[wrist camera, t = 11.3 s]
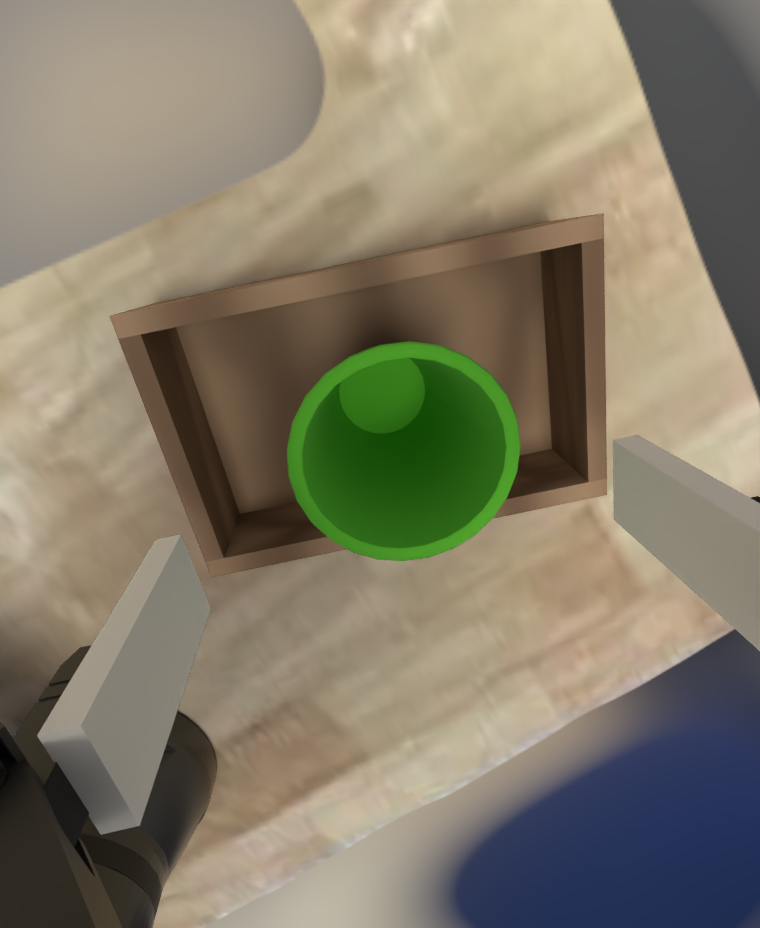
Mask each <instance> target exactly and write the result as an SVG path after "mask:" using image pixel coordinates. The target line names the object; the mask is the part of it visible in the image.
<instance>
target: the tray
mask: <svg viewBox="0 0 760 928" xmlns="http://www.w3.org/2000/svg"><path fill="white" fill-rule="evenodd" d="M110 319H111V321H112V324H113V326H114V329H115V332H116V334H117V337H118V339H119V342H120V344H121V347H122V350H123V352H124V355H125V357H126V360H127V362H128V365H129V367H130V370H131V373H132V375H133V378H134V380H135V383H136V385H137V388H138V390H139V393H140V396H141V398H142V401H143V403H144V406H145V408H146V411H147V413H148V416H149V419H150V421H151V424H152V426H153V429H154V431H155V434H156V437H157V439H158V442H159V444H160V447H161V449H162V452H163V454H164V457H165V460H166V462H167V465H168V467H169V470H170V472H171V475H172V477H173V480H174V483H175V485H176V488H177V490H178V493H179V495H180V498H181V501H182V503H183V506H184V508H185V511H186V513H187V516H188V518H189V521H190V524H191V526H192V529H193V531H194V534H195V536H196V539H197V541H198V544H199V547H200V549H201V552H202V554H203V557H204V559H205V562H206V564H207V567H208V570H209V572H210V575H211V577H215V576H220V575H225V574H230V573H235V572H239V571H244V570H249V569H254V568H258V567H263V566H268V565H273V564H278V563H282V562H287V561H292V560H297V559H302V558H306V557H311V556H316V555H321V554H326V553H330V552H335V551H340V550H345V549H346V548H345V547H343V546H341V545H339V544H337V543H336V542H334V541H332V540H330V539H329V538H328V537H327V536H326V535H325V534H324V533H322V532H321V531H320V530H319V529H318V528H317V527H316V526H315V525H314V524H313V523H312V522H311V521H310V520H309V518H308V517H307V515H306V514H305V512H304V511H303V509H302V508H301V506H300V505H299V503H298V502H297V500H296V497H295V494H294V491H293V488H292V485H291V482H290V479H289V476H288V462H287V446H288V441H289V436H290V431H291V426H292V422H293V420H294V418H295V416H296V414H297V412H298V410H299V408H300V406H301V404H302V402H303V400H304V398H305V396H306V395H307V394H308V392H309V391H310V390H311V389H312V388H313V387H314V386H315V384H316V383H317V382H318V381H319V380H320V379H321V377H322V376H323V375H324V374H325V373H327V372H328V371H329V370H331V369H332V368H334V367H335V366H337V365H338V364H339V363H341V362H342V361H344V360H345V359H347V358H348V357H349V356H352V355H354V354H357V353H358V352H360V351H361V350H364V349H367V348H369V347H373V346H378V345H383V344H391V343H399V342H408V341H412V342H420V343H428V344H436V345H441V346H444V347H446V348H449V349H451V350H454V351H456V352H459V353H461V354H464V355H466V356H468V357H470V358H471V359H472V360H474V361H475V362H476V363H478V364H479V365H480V366H482V367H483V368H484V369H486V370H487V371H488V372H490V373H491V374H492V376H493V377H494V378H495V380H496V381H497V382H498V383H499V385H500V386H501V387H502V389H503V390H504V391H505V392H506V394H507V395H508V398H509V400H510V403H511V405H512V407H513V410H514V412H515V415H516V417H517V420H518V428H519V436H520V444H521V447H520V454H519V462H518V470H517V473H516V476H515V479H514V481H513V484H512V486H511V489H510V491H509V494H508V496H507V498H506V500H505V501H504V503H503V504H502V505H501V507H500V508H499V510H498V511H497V513H496V514H495V516H494V517H493V518H498V517H503V516H508V515H512V514H517V513H522V512H527V511H531V510H536V509H541V508H546V507H551V506H555V505H560V504H565V503H570V502H575V501H579V500H584V499H589V498H594V497H599V496H603V495H607V458H606V376H605V295H604V214H597V215H590V216H583V217H576V218H569V219H562V220H555V221H549V222H544V223H539V224H534V225H530V226H525V227H520V228H515V229H510V230H506V231H501V232H496V233H491V234H486V235H481V236H477V237H472V238H467V239H462V240H457V241H453V242H448V243H443V244H438V245H433V246H428V247H424V248H419V249H414V250H409V251H404V252H400V253H395V254H390V255H385V256H380V257H375V258H371V259H366V260H361V261H356V262H351V263H347V264H342V265H337V266H332V267H327V268H322V269H318V270H313V271H308V272H303V273H298V274H294V275H289V276H284V277H279V278H274V279H269V280H265V281H260V282H255V283H250V284H245V285H241V286H236V287H231V288H226V289H221V290H216V291H212V292H207V293H202V294H197V295H192V296H188V297H183V298H178V299H173V300H168V301H163V302H159V303H154V304H150V305H147V306H143V307H140V308H136V309H133V310H129V311H126V312H122V313H119V314H115V315H112V316H110ZM493 518H492V519H493Z"/></svg>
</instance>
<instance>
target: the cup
mask: <svg viewBox="0 0 760 928" xmlns="http://www.w3.org/2000/svg"><path fill="white" fill-rule="evenodd" d="M520 447H521V444H520V436H519V428H518V420H517V417H516V415H515V412H514V410H513V407H512V405H511V403H510V400H509V398H508V395H507V394H506V392H505V391H504V390H503V389H502V387H501V386H500V385H499V383H498V382H497V381H496V380H495V378H494V377H493V376H492V374H491V373H490V372H488V371H487V370H486V369H484V368H483V367H482V366H480V365H479V364H478V363H476V362H475V361H474V360H472V359H471V358H470V357H468V356H466V355H464V354H461V353H459V352H456V351H454V350H451V349H449V348H446V347H444V346H441V345H436V344H428V343H420V342H412V341H408V342H399V343H391V344H383V345H378V346H373V347H369V348H367V349H364V350H361V351H360V352H358V353H357V354H354V355H352V356H349V357H348V358H347V359H345V360H344V361H342V362H341V363H339V364H338V365H337V366H335V367H334V368H332V369H331V370H329V371H328V372H327V373H325V374H324V375H323V376H322V377H321V379H320V380H319V381H318V382H317V383H316V384H315V386H314V387H313V388H312V389H311V390H310V391H309V392H308V394H307V395H306V396H305V398H304V400H303V402H302V404H301V406H300V408H299V410H298V412H297V414H296V416H295V418H294V420H293V422H292V426H291V431H290V436H289V441H288V446H287V462H288V476H289V479H290V482H291V485H292V488H293V491H294V494H295V497H296V500H297V502H298V503H299V505H300V506H301V508H302V509H303V511H304V512H305V514H306V515H307V517H308V518H309V520H310V521H311V522H312V523H313V524H314V525H315V526H316V527H317V528H318V529H319V530H320V531H321V532H322V533H324V534H325V535H326V536H327V537H328V538H329V539H330V540H332V541H334V542H336V543H337V544H339V545H341V546H343V547H345V548H346V549H348V550H350V551H352V552H354V553H358V554H361V555H364V556H368V557H371V558H375V559H381V560H396V561H406V560H413V559H420V558H428V557H431V556H433V555H436V554H439V553H442V552H445V551H448V550H450V549H453V548H454V547H456V546H458V545H459V544H461V543H463V542H464V541H466V540H468V539H469V538H471V537H473V536H474V535H475V534H476V533H477V532H478V531H480V530H481V529H482V528H483V527H484V526H485V525H486V524H487V523H488V522H489V521H490V520H491V519H492V518H493V517H494V516H495V514H496V513H497V511H498V510H499V508H500V507H501V505H502V504H503V503H504V501H505V500H506V498H507V496H508V494H509V491H510V489H511V486H512V484H513V481H514V479H515V476H516V473H517V470H518V462H519V454H520Z"/></svg>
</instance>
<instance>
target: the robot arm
mask: <svg viewBox="0 0 760 928" xmlns="http://www.w3.org/2000/svg"><path fill="white" fill-rule="evenodd" d="M613 493H614V520H615V521H616V522H617V523H618V524H619V525H620V526H622V527H623V528H624V529H625V530H626V531H627V532H628V533H629V534H630V535H632V536H633V537H634V538H635V539H636V540H637V541H638V542H639V543H640V544H642V545H643V546H644V547H645V548H646V549H647V550H648V551H649V552H650V553H652V554H653V555H654V556H655V557H656V558H657V559H658V560H659V561H660V562H662V563H663V564H664V565H665V566H666V567H667V568H668V569H669V570H670V571H672V572H673V573H674V574H675V575H676V576H677V577H678V578H679V579H680V580H682V581H683V582H684V583H685V584H686V585H687V586H688V587H689V588H690V589H692V590H693V591H694V592H695V593H696V594H697V595H698V596H699V597H700V598H702V599H703V600H704V601H705V602H706V603H707V604H708V605H709V606H710V607H712V608H713V609H714V610H715V611H716V612H717V613H718V614H719V615H720V616H722V617H723V618H724V619H725V620H726V621H727V622H728V623H729V624H730V625H732V626H733V627H734V628H735V629H736V630H737V631H738V632H739V633H741V634H742V635H743V636H744V637H745V638H746V639H747V640H748V641H749V642H750V643H752V644H753V645H754V646H755V647H756V648H757V649H758V650H759V651H760V497H758V496H757V497H752V498H749V497H748V496H746V495H744V494H742V493H740V492H739V491H737V490H735V489H733V488H731V487H730V486H728V485H726V484H724V483H723V482H721V481H719V480H717V479H715V478H714V477H712V476H710V475H708V474H707V473H705V472H703V471H701V470H699V469H698V468H696V467H694V466H692V465H690V464H689V463H687V462H685V461H683V460H682V459H680V458H678V457H676V456H674V455H673V454H671V453H669V452H667V451H665V450H664V449H662V448H660V447H658V446H657V445H655V444H653V443H651V442H649V441H648V440H646V439H644V438H642V437H641V436H639V435H635V436H630V437H626V438H621V439H616V440H613ZM210 610H211V608H210V605H209V603H208V600H207V598H206V595H205V593H204V590H203V588H202V585H201V583H200V580H199V578H198V575H197V573H196V570H195V568H194V565H193V563H192V560H191V558H190V555H189V552H188V550H187V547H186V545H185V542H184V540H183V537H182V535H181V534H180V535H175V536H171V537H166V538H161V539H157V540H155V542H154V543H153V545H152V546H151V548H150V550H149V551H148V553H147V555H146V556H145V558H144V560H143V561H142V563H141V565H140V566H139V568H138V570H137V571H136V573H135V575H134V576H133V578H132V580H131V581H130V583H129V584H128V586H127V588H126V589H125V591H124V593H123V594H122V596H121V598H120V599H119V601H118V603H117V604H116V606H115V608H114V609H113V611H112V613H111V614H110V616H109V617H108V619H107V621H106V622H105V624H104V626H103V627H102V629H101V631H100V632H99V634H98V636H97V637H96V639H95V641H94V642H93V644H92V645H90V646H85V647H81V648H79V649H78V650H77V651H76V652H75V653H74V654H73V655H72V656H71V657H70V658H69V659H67V660H66V661H65V662H64V663H63V664H62V665H61V666H60V668H59V669H58V671H57V673H56V674H55V676H54V677H53V679H52V680H51V682H50V683H49V687H48V688H46V689H45V691H44V693H43V694H42V696H41V697H40V699H39V703H36V705H35V706H34V708H33V709H32V711H31V712H30V714H29V716H28V717H27V719H26V720H25V722H24V723H23V725H22V726H21V728H20V729H19V731H18V732H17V734H16V736H15V737H14V739H13V738H12V737H11V735H10V734H9V732H8V731H7V729H6V728H5V726H4V725H2V724H1V723H0V928H152V927H153V923H154V919H155V916H156V912H157V908H158V905H159V901H160V897H161V894H162V890H163V887H164V885H165V883H166V881H167V879H168V877H169V876H170V874H171V872H172V870H173V869H174V867H175V865H176V863H177V862H178V860H179V858H180V857H181V855H182V853H183V851H184V849H185V848H186V846H187V844H188V842H189V840H190V838H191V837H192V835H193V833H194V831H195V829H196V827H197V825H198V824H199V823H200V821H201V820H202V818H203V816H204V814H205V812H206V810H207V808H208V805H209V802H210V799H211V794H212V790H213V786H214V781H215V777H216V768H217V766H216V758H215V754H214V751H213V749H212V747H211V745H210V743H209V741H208V740H207V738H206V737H205V735H204V734H203V733H202V732H201V731H200V730H199V729H198V728H197V727H196V726H195V725H194V724H193V723H192V722H190V721H189V720H188V719H186V718H185V717H183V716H182V715H180V714H178V713H177V710H178V707H179V704H180V701H181V698H182V695H183V692H184V689H185V686H186V683H187V680H188V677H189V674H190V671H191V668H192V665H193V662H194V658H195V655H196V652H197V649H198V646H199V643H200V640H201V637H202V634H203V631H204V628H205V625H206V622H207V619H208V616H209V613H210Z"/></svg>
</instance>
